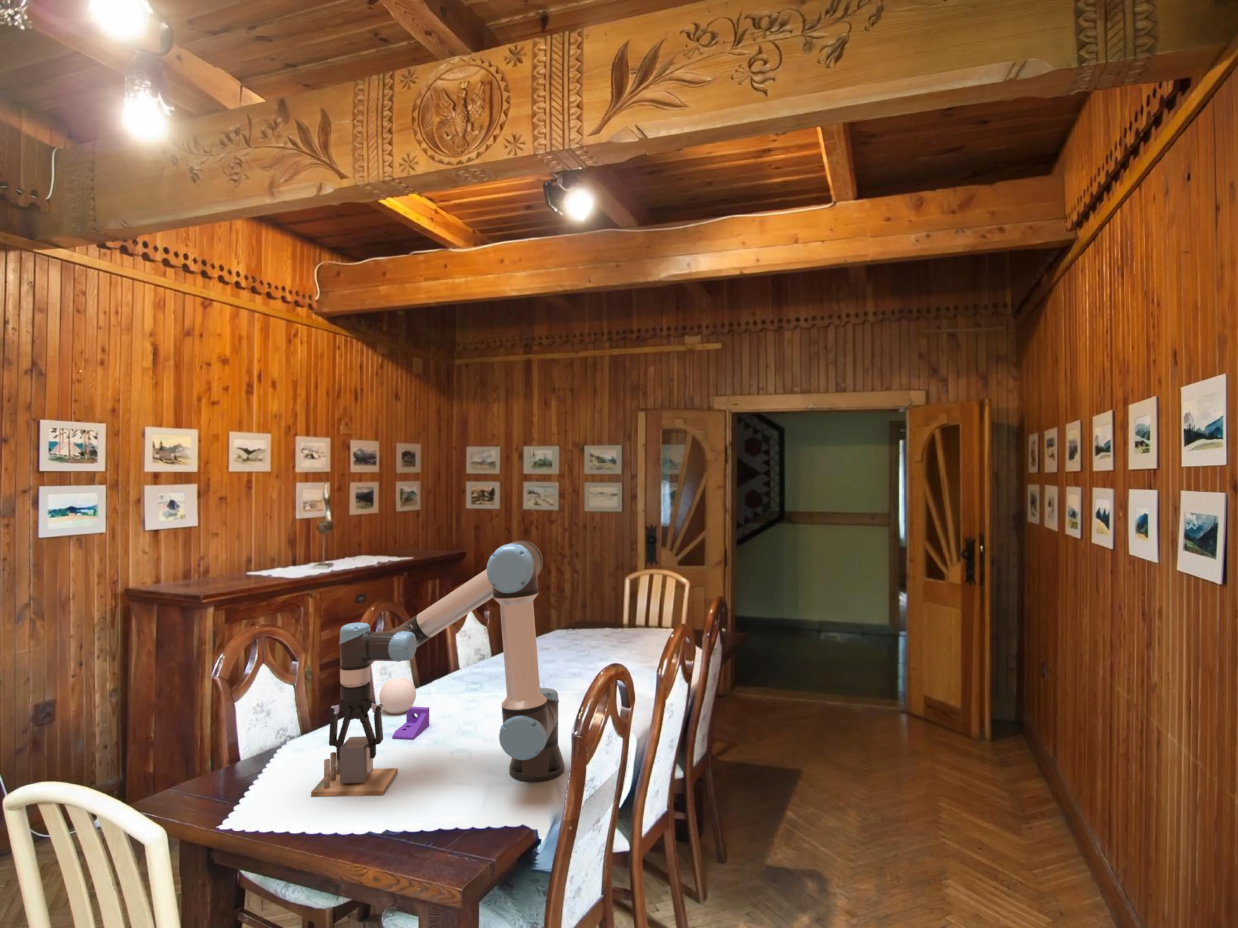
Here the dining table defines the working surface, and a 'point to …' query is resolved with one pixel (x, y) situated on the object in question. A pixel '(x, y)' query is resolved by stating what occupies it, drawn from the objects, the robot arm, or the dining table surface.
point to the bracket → (413, 724)
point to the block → (354, 760)
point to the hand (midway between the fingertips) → (356, 770)
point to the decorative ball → (397, 695)
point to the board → (371, 786)
